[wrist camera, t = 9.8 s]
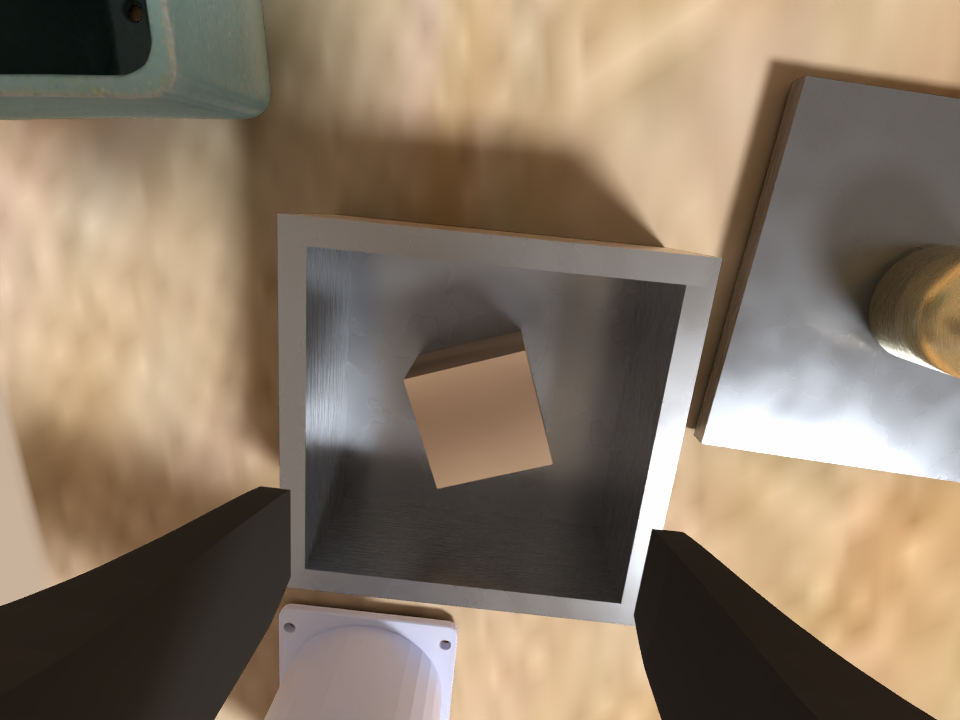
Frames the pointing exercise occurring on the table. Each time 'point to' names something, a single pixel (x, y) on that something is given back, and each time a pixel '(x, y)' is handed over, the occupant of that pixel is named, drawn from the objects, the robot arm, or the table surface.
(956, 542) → the table surface
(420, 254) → the tin
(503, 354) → the copper block
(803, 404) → the lid
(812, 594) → the table surface
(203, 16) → the flower pot
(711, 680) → the robot arm
